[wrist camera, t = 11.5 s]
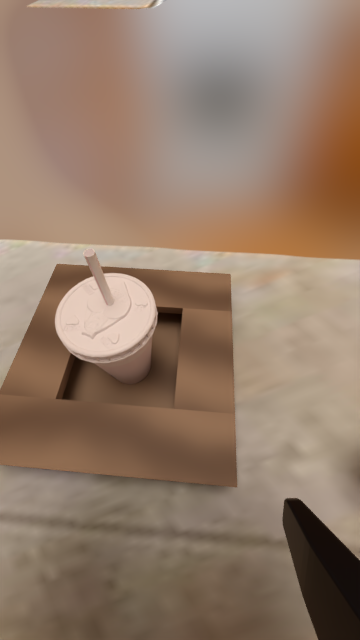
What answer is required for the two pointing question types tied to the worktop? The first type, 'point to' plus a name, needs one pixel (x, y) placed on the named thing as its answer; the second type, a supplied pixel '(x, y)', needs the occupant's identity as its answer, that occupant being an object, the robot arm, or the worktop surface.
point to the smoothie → (109, 322)
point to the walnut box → (129, 390)
